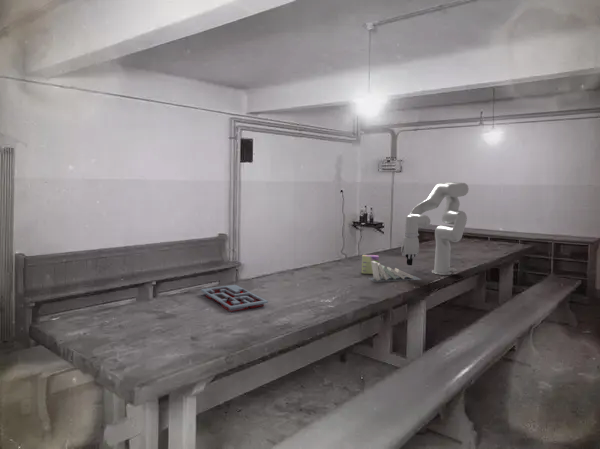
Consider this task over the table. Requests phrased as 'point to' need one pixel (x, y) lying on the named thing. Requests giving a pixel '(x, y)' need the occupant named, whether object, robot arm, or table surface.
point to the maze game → (234, 297)
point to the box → (368, 263)
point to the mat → (395, 279)
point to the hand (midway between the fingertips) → (409, 264)
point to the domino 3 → (389, 272)
